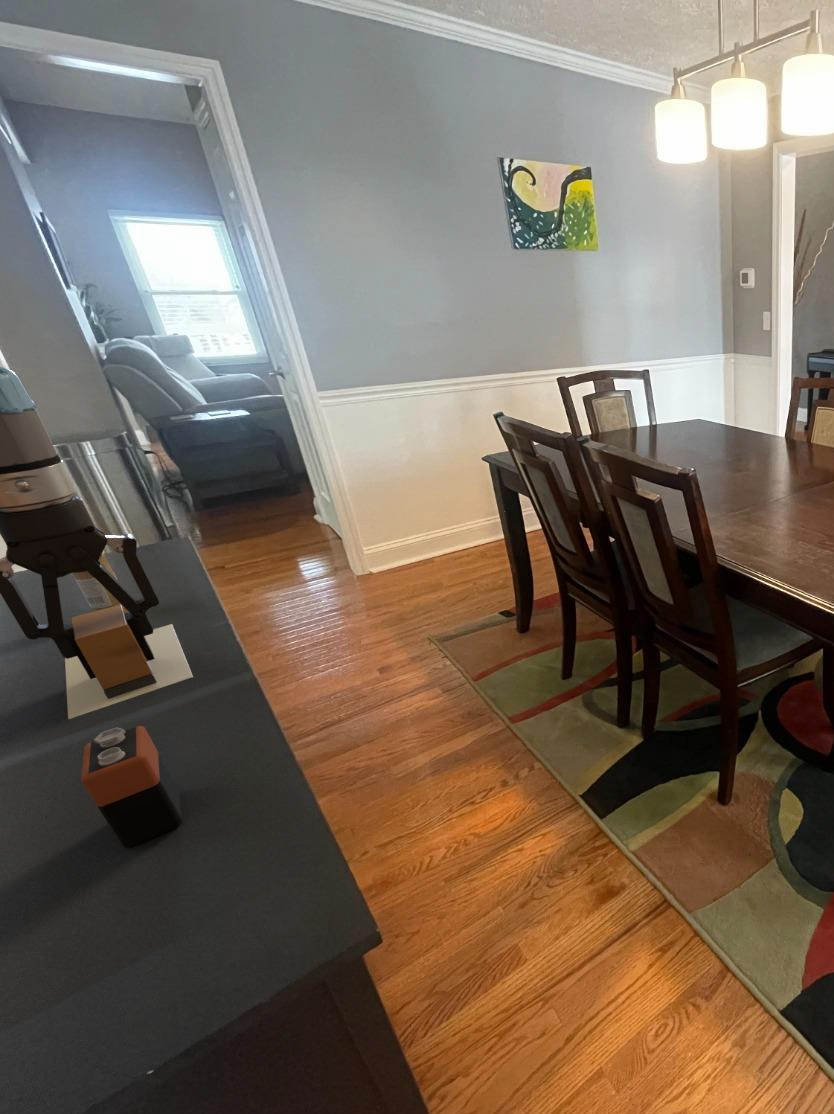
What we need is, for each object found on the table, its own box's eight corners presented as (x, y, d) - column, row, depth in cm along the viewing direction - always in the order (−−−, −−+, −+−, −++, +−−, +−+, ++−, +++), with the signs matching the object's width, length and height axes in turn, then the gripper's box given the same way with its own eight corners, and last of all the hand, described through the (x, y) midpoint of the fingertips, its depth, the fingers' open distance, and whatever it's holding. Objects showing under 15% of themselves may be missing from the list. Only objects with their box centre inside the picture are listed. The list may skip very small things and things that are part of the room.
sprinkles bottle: (143, 614, 101) (107, 540, 95) (112, 627, 97) (73, 552, 91) (122, 612, 102) (84, 539, 96) (90, 625, 98) (49, 550, 92)
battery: (180, 789, 64) (139, 715, 60) (183, 826, 60) (140, 748, 56) (124, 812, 62) (78, 736, 57) (124, 852, 57) (73, 772, 53)
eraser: (102, 671, 83) (71, 616, 79) (148, 657, 86) (120, 603, 83) (107, 699, 78) (74, 640, 74) (157, 682, 81) (127, 625, 77)
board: (67, 660, 88) (64, 654, 88) (174, 629, 96) (171, 623, 96) (71, 725, 74) (68, 719, 74) (196, 682, 82) (193, 676, 82)
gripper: (-90, 530, 63) (24, 708, 73) (139, 490, 75) (211, 647, 85) (-82, 515, 68) (25, 684, 77) (133, 480, 80) (202, 630, 89)
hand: (122, 664), depth 81 cm, fingers closed on eraser, 5 cm apart
